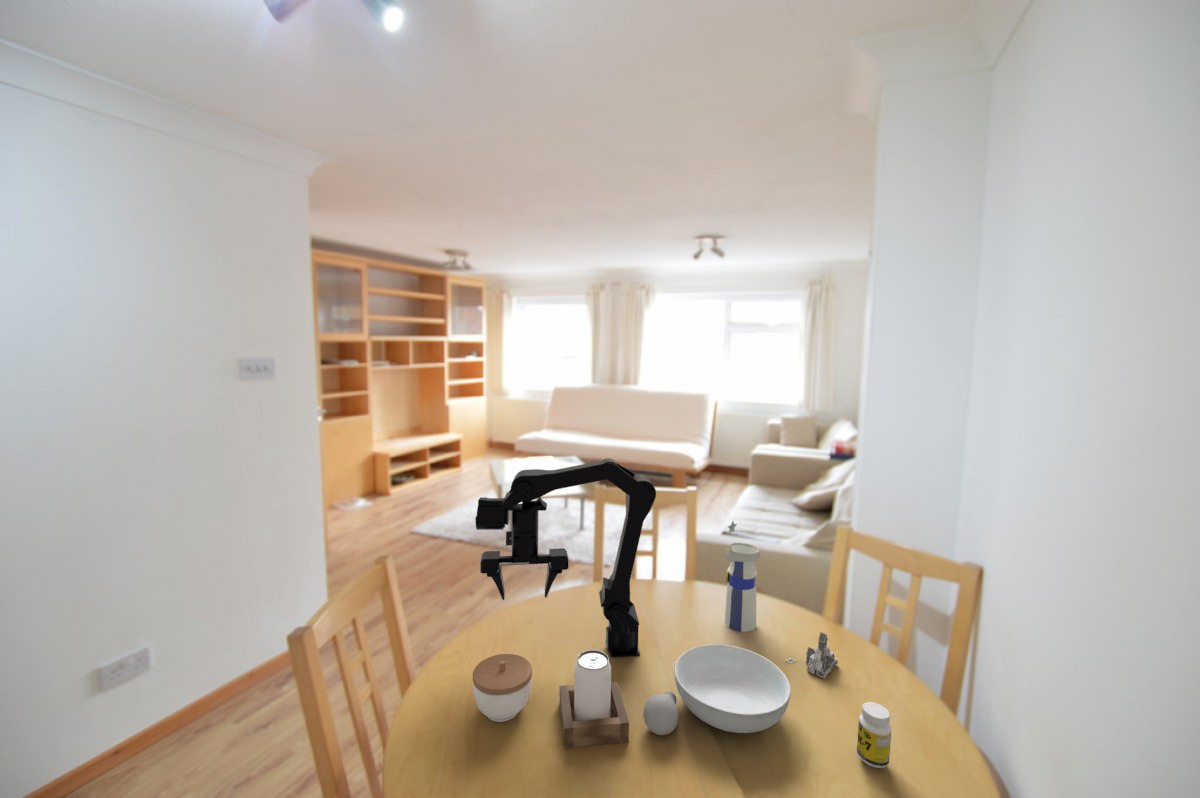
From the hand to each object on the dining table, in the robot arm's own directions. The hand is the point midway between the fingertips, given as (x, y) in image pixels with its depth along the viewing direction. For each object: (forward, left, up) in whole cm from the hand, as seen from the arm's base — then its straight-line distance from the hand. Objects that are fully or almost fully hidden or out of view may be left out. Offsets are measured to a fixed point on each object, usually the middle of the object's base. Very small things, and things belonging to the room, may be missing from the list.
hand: (524, 597), depth 111 cm
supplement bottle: (-57, +38, -12) cm, 70 cm away
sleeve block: (-12, +24, -12) cm, 29 cm away
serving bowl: (-38, +24, -12) cm, 47 cm away
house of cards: (-63, +11, -13) cm, 65 cm away
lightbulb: (-27, +21, -11) cm, 36 cm away
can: (-12, +24, -12) cm, 30 cm away
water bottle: (-53, -5, -12) cm, 54 cm away
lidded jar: (+4, +19, -12) cm, 23 cm away
